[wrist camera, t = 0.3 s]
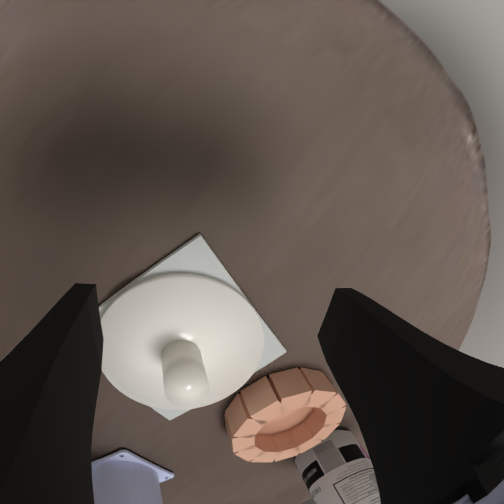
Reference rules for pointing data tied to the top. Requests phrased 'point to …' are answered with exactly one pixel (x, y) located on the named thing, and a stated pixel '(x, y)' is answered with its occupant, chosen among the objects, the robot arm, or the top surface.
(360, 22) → the top surface
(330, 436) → the supplement can
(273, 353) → the mat
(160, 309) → the lid
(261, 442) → the bowl
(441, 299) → the top surface
